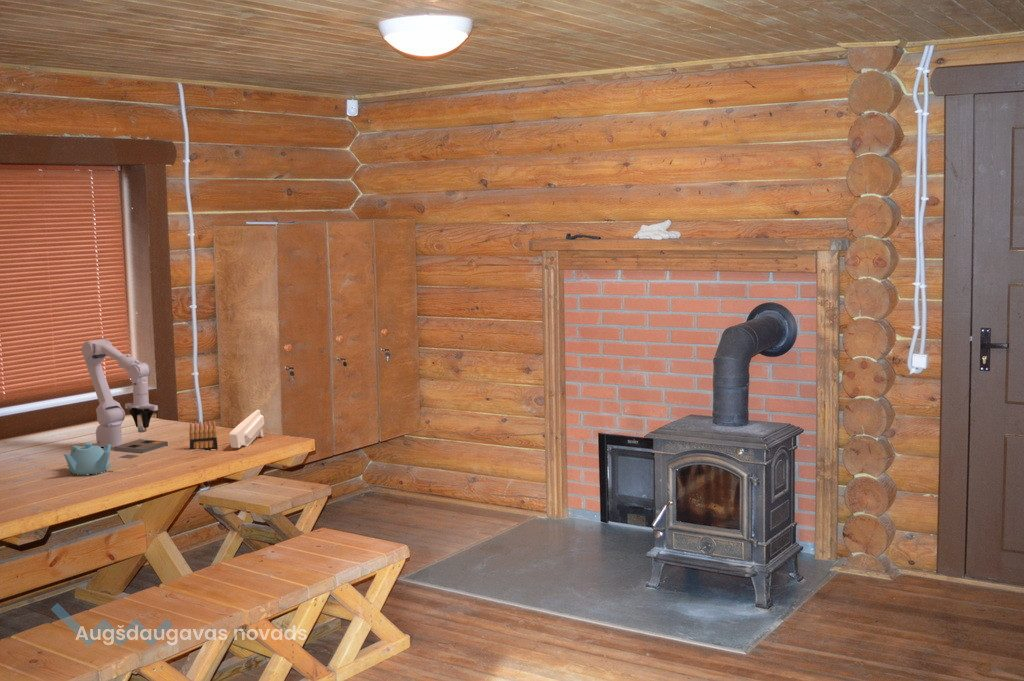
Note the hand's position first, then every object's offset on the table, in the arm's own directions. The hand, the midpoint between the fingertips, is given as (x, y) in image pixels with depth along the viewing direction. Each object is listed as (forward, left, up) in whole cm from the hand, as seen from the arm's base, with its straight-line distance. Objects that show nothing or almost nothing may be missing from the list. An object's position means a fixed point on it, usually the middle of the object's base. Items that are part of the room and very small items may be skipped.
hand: (142, 427), depth 419 cm
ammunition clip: (+23, +8, -10) cm, 26 cm away
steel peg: (0, 0, -2) cm, 2 cm away
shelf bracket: (+32, +25, -10) cm, 42 cm away
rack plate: (-1, 0, -10) cm, 10 cm away
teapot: (+5, -35, -10) cm, 36 cm away
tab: (+5, -14, -10) cm, 17 cm away
